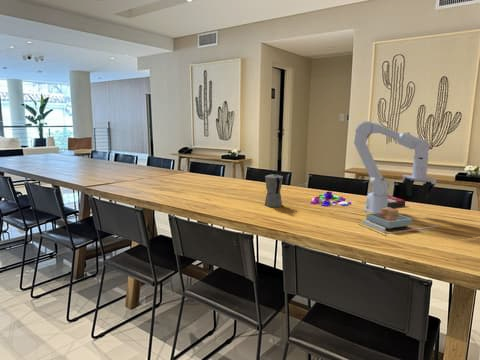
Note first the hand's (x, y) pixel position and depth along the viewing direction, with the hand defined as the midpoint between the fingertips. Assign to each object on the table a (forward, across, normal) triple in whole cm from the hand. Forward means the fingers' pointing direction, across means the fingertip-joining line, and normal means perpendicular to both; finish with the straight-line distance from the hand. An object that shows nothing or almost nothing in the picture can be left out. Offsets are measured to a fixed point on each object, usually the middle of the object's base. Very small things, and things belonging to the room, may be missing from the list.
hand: (417, 197), depth 154 cm
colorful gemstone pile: (+10, -41, -10) cm, 44 cm away
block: (+6, +4, -24) cm, 26 cm away
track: (+9, +5, -19) cm, 22 cm away
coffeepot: (+10, -49, -43) cm, 66 cm away
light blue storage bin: (+9, +4, -25) cm, 26 cm away
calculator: (+10, -23, +11) cm, 27 cm away
